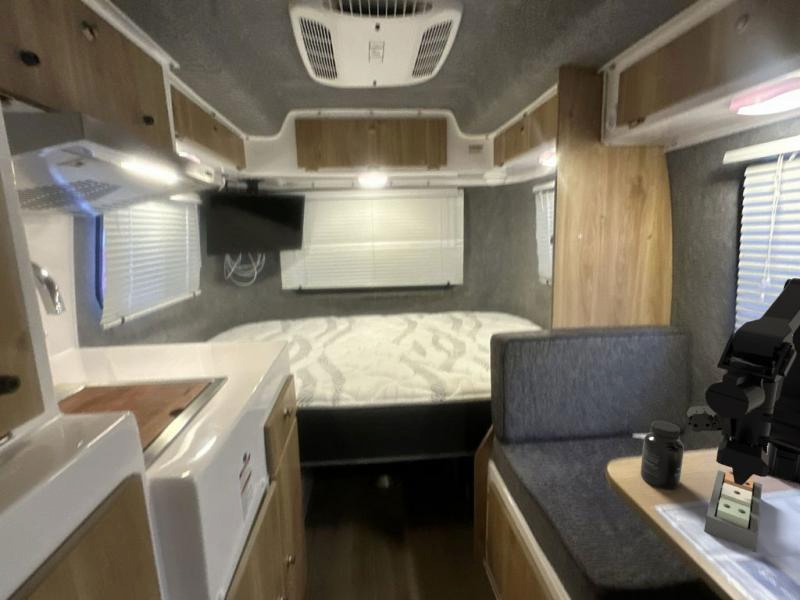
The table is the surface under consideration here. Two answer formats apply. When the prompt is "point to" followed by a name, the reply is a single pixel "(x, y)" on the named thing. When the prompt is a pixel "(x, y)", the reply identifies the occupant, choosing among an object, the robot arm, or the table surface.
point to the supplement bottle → (662, 455)
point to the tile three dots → (746, 486)
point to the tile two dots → (733, 513)
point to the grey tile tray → (729, 529)
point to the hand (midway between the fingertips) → (738, 483)
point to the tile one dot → (736, 495)
